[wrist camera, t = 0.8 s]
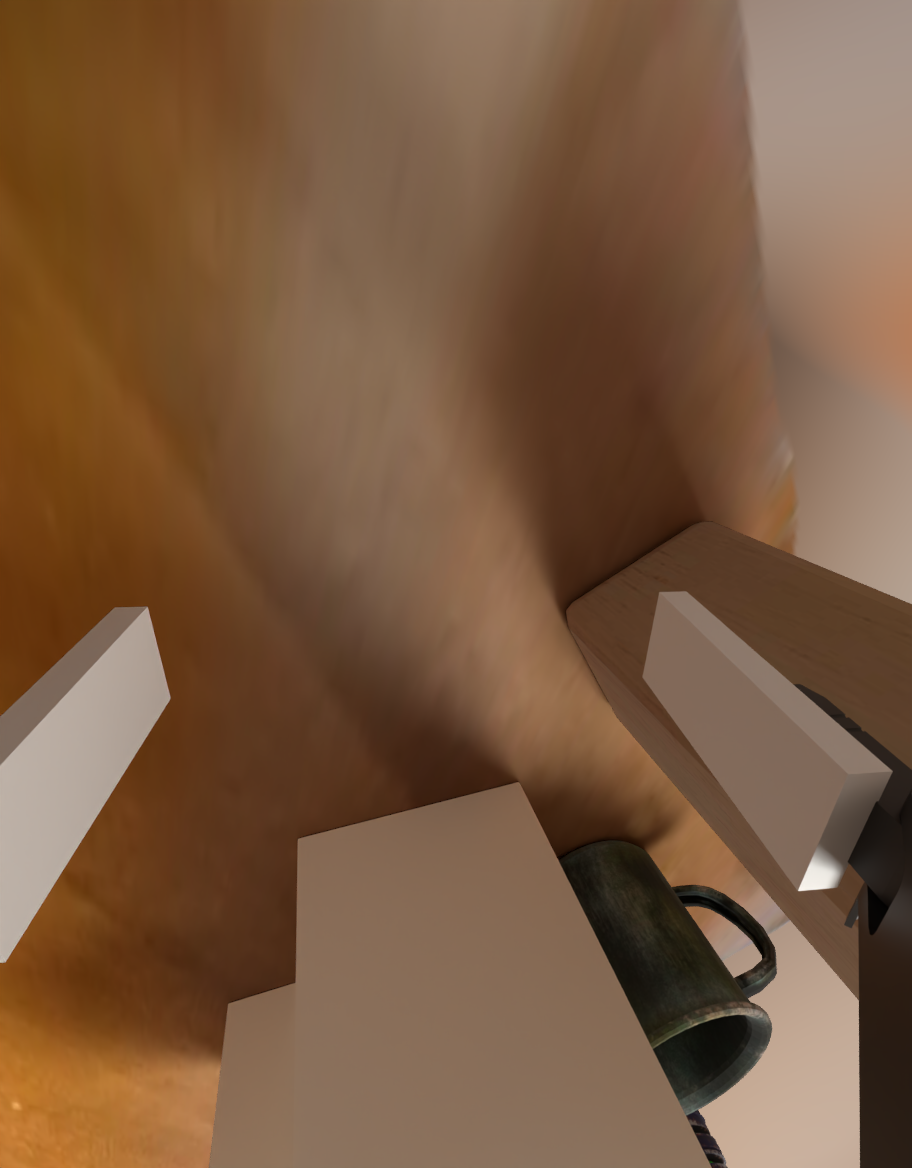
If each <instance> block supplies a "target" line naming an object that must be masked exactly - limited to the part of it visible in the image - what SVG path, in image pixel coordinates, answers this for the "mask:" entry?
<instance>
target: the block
mask: <svg viewBox="0 0 912 1168" xmlns="http://www.w3.org/2000/svg"><path fill="white" fill-rule="evenodd" d="M680 591H686V592H688V593H689V594H690V595H691V596H692V597H693V598H695V599H696V600H697V601H698V602H699V603H700V604H701V605H703V606H704V607H705V608H706V609H707V610H708V611H709V612H711V613H712V614H713V615H714V616H715V617H716V618H717V619H719V620H720V621H721V622H722V623H723V624H724V625H725V626H727V627H728V628H729V629H730V630H731V631H732V632H734V633H735V634H736V635H737V636H738V637H739V638H740V639H742V640H743V641H744V642H745V643H746V644H747V645H748V646H750V647H751V648H752V649H753V650H754V651H755V652H756V653H758V654H759V655H760V656H761V657H762V658H763V659H764V660H766V661H767V662H768V663H769V664H770V665H771V666H773V667H774V668H775V669H776V670H777V671H778V672H779V673H781V674H782V675H783V676H784V677H785V678H786V679H787V680H789V681H790V682H791V683H792V684H801V685H803V686H805V687H807V688H808V689H810V690H812V691H814V692H816V693H818V694H820V695H821V696H823V697H825V698H827V699H828V700H829V701H830V702H831V703H833V704H834V705H835V706H836V707H837V708H839V709H840V710H841V711H842V712H843V713H844V714H845V717H846V718H847V717H849V718H850V719H852V720H853V721H854V722H855V723H856V724H858V725H859V726H860V727H861V730H862V731H866V732H867V733H868V734H870V735H871V736H872V737H873V738H874V739H876V740H877V741H878V742H879V743H880V744H882V745H883V746H884V747H885V748H886V749H888V750H889V751H890V752H891V753H892V754H893V755H895V756H896V757H897V758H898V759H899V760H901V761H902V762H903V763H904V764H905V765H907V766H908V767H909V768H910V769H911V770H912V604H910V603H907V602H905V601H902V600H900V599H898V598H895V597H893V596H890V595H888V594H885V593H883V592H881V591H878V590H876V589H873V588H871V587H869V586H866V585H864V584H861V583H859V582H857V581H854V580H852V579H849V578H847V577H845V576H842V575H840V574H837V573H835V572H833V571H830V570H828V569H825V568H823V567H820V566H818V565H815V564H813V563H811V562H808V561H806V560H804V559H801V558H799V557H796V556H794V555H792V554H789V553H787V552H784V551H782V550H779V549H777V548H775V547H772V546H770V545H767V544H765V543H763V542H760V541H758V540H755V539H753V538H751V537H748V536H746V535H743V534H741V533H738V532H736V531H734V530H731V529H729V528H726V527H724V526H722V525H719V524H717V523H714V522H712V521H710V522H701V523H697V524H694V525H692V526H690V527H688V528H687V529H685V530H684V531H682V532H681V533H679V534H678V535H676V536H674V537H673V538H671V539H670V540H668V541H667V542H665V543H664V544H662V545H661V546H659V547H657V548H656V549H654V550H653V551H651V552H650V553H648V554H647V555H645V556H644V557H642V558H640V559H639V560H637V561H636V562H634V563H633V564H631V565H630V566H628V567H626V568H625V569H623V570H622V571H620V572H619V573H617V574H616V575H614V576H613V577H611V578H609V579H608V580H606V581H605V582H603V583H602V584H600V585H599V586H597V587H596V588H594V589H592V590H591V591H589V592H588V593H586V594H585V595H583V596H582V597H580V598H578V599H577V600H575V601H574V602H572V604H571V605H570V606H569V607H568V609H567V610H566V615H567V622H568V627H569V629H570V631H571V633H572V635H573V637H574V639H575V640H576V642H577V644H578V646H579V648H580V650H581V652H582V653H583V655H584V657H585V659H586V661H587V663H588V665H589V666H590V668H591V670H592V672H593V674H594V676H595V678H596V679H597V681H598V683H599V685H600V687H601V689H602V691H603V692H604V694H605V696H606V698H607V700H608V702H609V703H610V705H611V707H612V709H613V711H614V713H615V715H616V716H617V718H618V719H619V720H620V722H621V723H622V724H623V725H624V726H625V727H626V729H627V730H628V731H629V732H630V733H631V734H632V736H633V737H634V738H635V739H636V740H637V741H638V743H639V744H640V745H641V746H642V747H643V748H644V750H645V751H646V752H647V753H648V754H649V755H650V757H651V758H652V759H653V760H654V761H655V763H656V764H657V765H658V766H659V767H660V768H661V770H662V771H663V772H664V773H665V774H666V775H667V777H668V778H669V779H670V780H671V781H672V782H673V784H674V785H675V786H676V787H677V788H678V789H679V791H680V792H681V793H682V794H683V795H684V796H685V798H686V799H687V800H688V801H689V802H690V803H691V805H692V806H693V807H694V808H695V809H696V810H697V812H698V813H699V814H700V815H701V816H702V817H703V819H704V820H705V821H706V822H707V823H708V824H709V826H710V827H711V828H712V829H713V830H714V831H715V833H716V834H717V835H718V836H719V837H720V839H721V840H722V841H723V842H724V843H725V844H726V846H727V847H728V848H729V849H730V850H731V851H732V853H733V854H734V855H735V856H736V857H737V858H738V860H739V861H740V862H741V863H742V864H743V865H744V867H745V868H746V869H747V870H748V871H749V872H750V874H751V875H752V876H753V877H754V878H755V879H756V881H757V882H758V883H759V884H760V885H761V886H762V888H763V889H764V890H765V891H766V892H767V893H768V895H769V896H770V897H771V898H772V899H773V900H774V902H775V903H776V904H777V905H778V906H779V907H780V909H781V910H782V911H783V912H784V913H785V915H786V916H787V917H788V918H789V919H790V920H791V921H792V923H793V924H794V925H795V926H796V927H797V929H798V930H799V931H800V932H801V933H802V934H803V936H804V937H805V938H806V939H807V940H808V941H809V943H810V944H811V945H812V946H813V947H814V948H815V950H816V951H817V952H818V953H819V954H820V955H821V957H822V958H823V959H824V960H825V961H826V962H827V964H828V965H829V966H830V967H831V968H832V969H833V971H834V972H835V973H836V974H837V975H838V976H839V978H840V979H841V980H842V981H843V982H844V983H845V985H846V986H847V987H848V988H849V989H850V991H851V992H852V993H853V994H854V995H855V996H856V997H857V999H858V1000H859V943H858V919H857V920H856V921H855V923H854V924H853V926H852V928H849V927H847V926H845V925H844V923H845V920H846V918H847V915H848V913H849V911H850V909H851V907H852V905H853V903H854V901H855V899H856V897H857V895H858V893H859V891H860V889H861V887H862V886H863V884H864V882H865V881H864V880H863V879H862V878H861V877H860V876H859V874H858V873H857V872H856V871H855V870H854V869H853V868H852V866H851V865H850V864H848V866H847V868H846V871H845V873H844V875H843V877H842V879H841V881H840V883H839V885H838V887H837V888H828V889H817V890H806V891H797V889H796V888H795V887H794V885H793V884H792V883H791V881H790V880H789V878H788V877H787V876H786V874H785V873H784V872H783V870H782V869H781V867H780V866H779V865H778V863H777V862H776V861H775V859H774V858H773V856H772V855H771V854H770V852H769V851H768V850H767V848H766V847H765V845H764V844H763V843H762V841H761V840H760V839H759V837H758V836H757V834H756V833H755V832H754V830H753V829H752V828H751V826H750V825H749V823H748V822H747V821H746V819H745V818H744V816H743V815H742V814H741V812H740V811H739V810H738V808H737V807H736V805H735V804H734V803H733V801H732V800H731V799H730V797H729V796H728V794H727V793H726V792H725V790H724V789H723V788H722V786H721V785H720V783H719V782H718V781H717V779H716V778H715V777H714V775H713V774H712V772H711V771H710V770H709V768H708V767H707V766H706V764H705V763H704V761H703V760H702V759H701V757H700V756H699V755H698V753H697V752H696V750H695V749H694V748H693V746H692V745H691V744H690V742H689V741H688V739H687V738H686V737H685V735H684V734H683V733H682V731H681V730H680V728H679V727H678V726H677V724H676V723H675V722H674V720H673V719H672V717H671V716H670V715H669V713H668V712H667V710H666V709H665V708H664V706H663V705H662V704H661V702H660V701H659V699H658V698H657V697H656V695H655V694H654V693H653V691H652V690H651V688H650V687H649V686H648V684H647V683H646V682H645V680H644V679H643V672H644V667H645V662H646V657H647V652H648V647H649V641H650V636H651V631H652V626H653V621H654V616H655V611H656V606H657V601H658V596H659V592H680Z"/></svg>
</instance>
